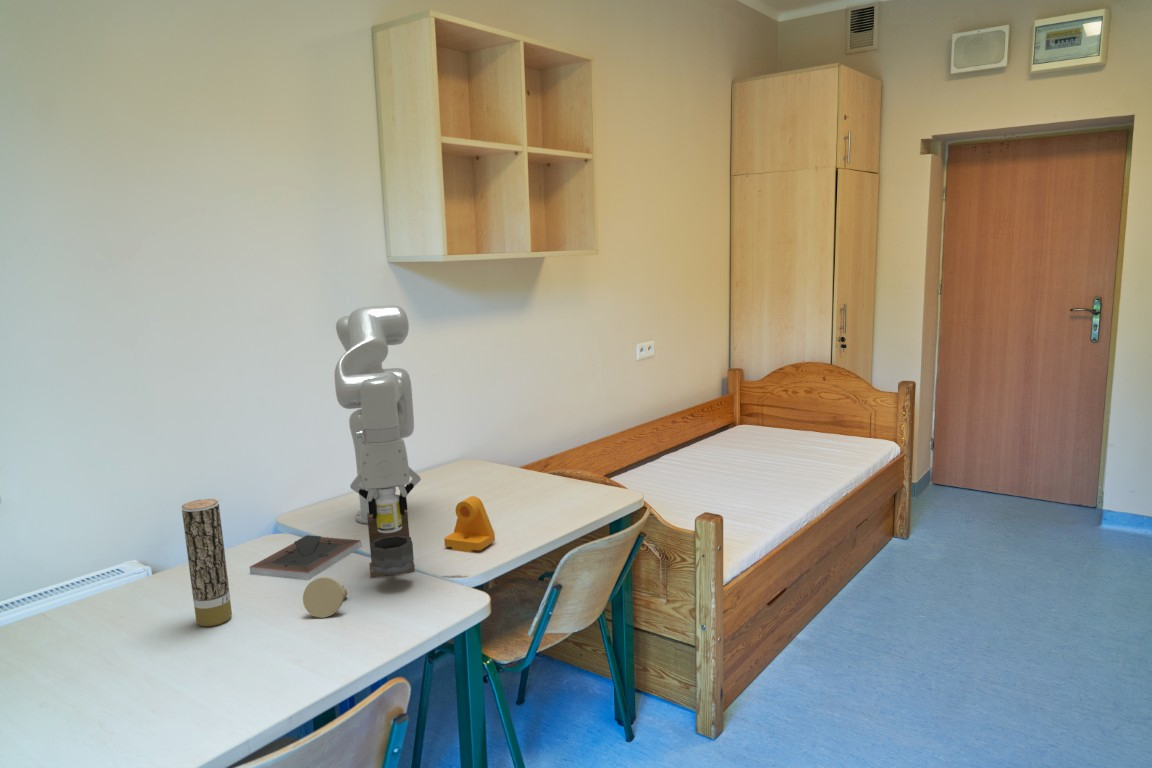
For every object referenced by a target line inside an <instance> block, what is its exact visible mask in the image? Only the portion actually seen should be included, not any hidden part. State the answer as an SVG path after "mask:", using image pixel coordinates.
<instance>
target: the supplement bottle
mask: <svg viewBox="0 0 1152 768" xmlns="http://www.w3.org/2000/svg"><path fill="white" fill-rule="evenodd" d="M396 490H397V489H396V487H389V488H381V489H377V494H378V495H379V496H378V497H376V499H375V508H376V520H377V529H378V531H379V532H381V533H393V532H396V531H399V530H400V529H402V518H401V507H400V498H399V496H398V495H399V494H396V492H397V491H396Z"/></svg>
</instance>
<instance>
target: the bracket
mask: <svg viewBox="0 0 1152 768" xmlns="http://www.w3.org/2000/svg"><path fill="white" fill-rule="evenodd" d="M485 508H486V507H485V506H484V504H483V501H482V500H481V499H480V497H477V496H474V495H472V496H469V497H467V498H465V499H464V500H462V501H460V502H459V503H457V504H456V507H455V514H456V515H455V516H456V517H457V519H456V523H455V525H454V526H455V527H454V530H453V532H451V533H450V534H448V535H447V536H445V537H443V539H444V547H449V548H451V550H452V551H457V552H464V553H473V552H474V551H482V550H483V549H485V548H486V547H488V546H489V545H491V544H493V543H494V542H495V541H496V535H495V534H496V533H495V531H494V529H493V526H492V523H491V521H490V518H489V516H488V514H487V511H486V509H485Z"/></svg>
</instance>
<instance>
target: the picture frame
mask: <svg viewBox="0 0 1152 768" xmlns="http://www.w3.org/2000/svg"><path fill="white" fill-rule="evenodd" d="M362 547H363V546H362V539H361V540H360V539H351V538H350V539H349V538H339V537H338V538H337V537H336V538H335V537H328V536H327V537H326V536H325V537H324V536H320V535H309V534H306V535H305V536H303V537H301V538H298V539H297V540H295V541H294V542H293V543H291V544H289V545H287V546H286V547H283V548H282V549H280V550H278V551H276V552H275V553H272V554H271V555H269V556H267V557H266V558H265V557H264V559H262V560H260V561H258V562H256V563H254V564H253V565H251V566H249V574H250V575H256V576H257V575H258V576H267V577H277V578H285V579H287V578H288V579H294V580H296V579H297V580H305V581H306V580H307V581H310V580H311V579H313V578H314V577H316V576H318V575H319V574H320V573H322V572H324V571H325V570H328V568H330V567H331V566H333V565H335V564H337V563H338V562H339V561H341V560H343V559H344V558H346V557H348V556H349V555H351V554H352V553H354V552H355V551H357V550H359V549H360V548H362Z"/></svg>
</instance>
